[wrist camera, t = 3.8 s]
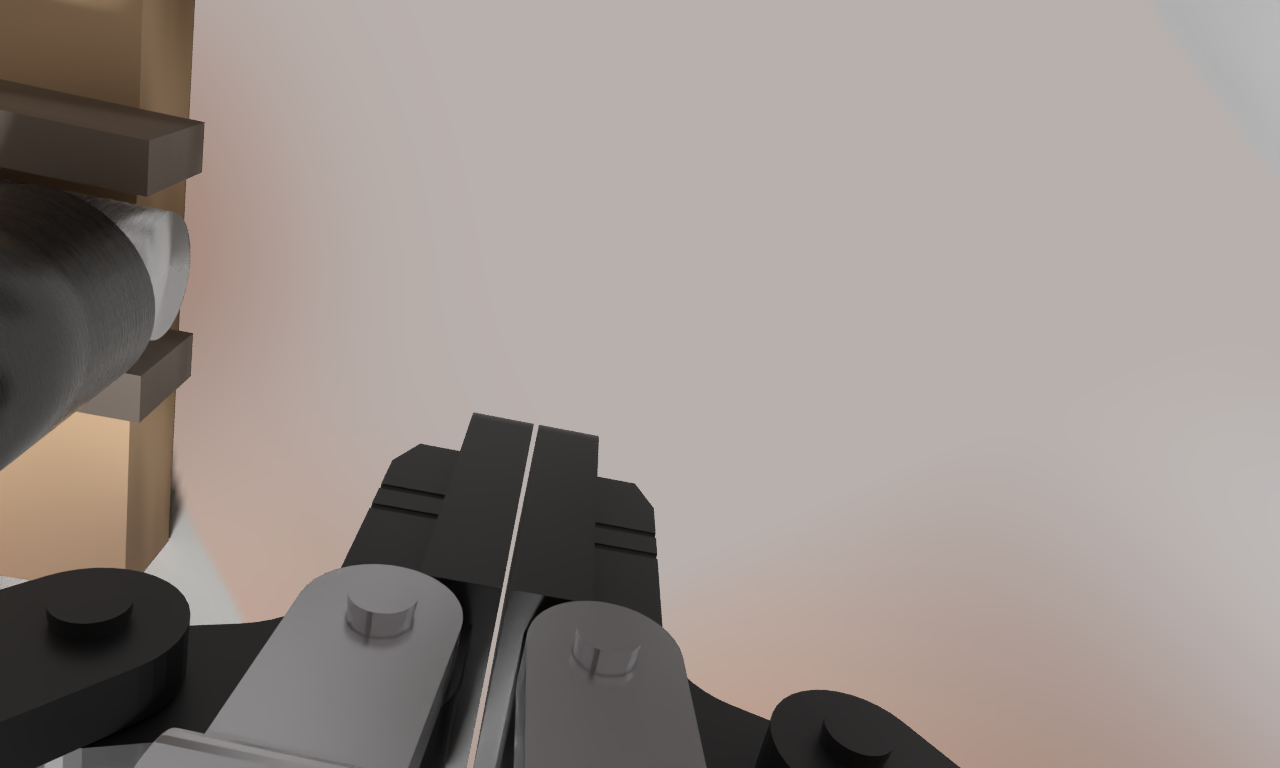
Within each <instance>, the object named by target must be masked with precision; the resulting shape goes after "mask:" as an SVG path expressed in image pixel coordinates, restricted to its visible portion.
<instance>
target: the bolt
mask: <svg viewBox="0 0 1280 768" xmlns="http://www.w3.org/2000/svg"><path fill="white" fill-rule="evenodd" d="M189 266H190V241H189V234H188V230H187V226H186V224H185V222H184V220H183V218H182V217H181V216H180V215H179V214H178V213H175V212H171V211H166V210H161V209H156V208H151V207H146V206H141V205H136V204H131V203H126V202H121V201H116V200H111V199H106V198H101V197H96V196H92V195H87V194H82V193H77V192H72V191H67V190H62V189H57V188H52V187H47V186H42V185H37V184H32V183H27V182H22V181H17V180H12V179H7V178H2V177H0V471H1V470H3V469H4V468H5V467H6V466H8V465H9V464H10V463H12V462H13V461H14V460H15V459H17V458H18V457H19V456H20V455H22V454H23V453H24V452H25V451H27V450H28V449H29V448H31V447H32V446H33V445H34V444H36V443H37V442H38V441H39V440H41V439H42V438H43V437H44V436H46V435H47V434H48V433H50V432H51V431H52V430H53V429H55V428H56V427H57V426H58V425H60V424H61V423H62V422H63V421H65V420H66V419H67V418H69V417H70V416H71V415H72V414H74V413H75V412H76V411H77V410H79V409H80V408H81V407H82V406H84V405H85V404H86V403H88V402H89V401H90V400H91V399H93V398H94V397H95V396H96V395H98V394H99V393H100V392H101V391H103V390H104V389H105V388H107V387H108V386H109V385H110V384H112V383H113V382H114V381H115V380H117V379H118V378H119V377H120V376H122V375H123V374H124V373H125V372H127V371H128V370H129V369H130V368H131V367H132V366H133V365H134V364H135V363H136V362H137V361H138V360H139V358H140V357H141V355H142V354H143V352H144V351H145V349H146V347H147V345H148V343H149V340H157V339H159V338H160V337H162V336H163V335H164V334H165V333H166V332H167V331H168V329H169V328H170V326H171V325H172V323H173V322H174V320H175V318H176V316H177V314H178V311H179V309H180V306H181V303H182V300H183V297H184V293H185V290H186V285H187V280H188V274H189Z"/></svg>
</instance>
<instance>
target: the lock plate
mask: <svg viewBox="0 0 1280 768" xmlns="http://www.w3.org/2000/svg"><path fill="white" fill-rule="evenodd" d="M194 8H195V0H0V177H2V178H7V179H12V180H17V181H22V182H27V183H32V184H37V185H42V186H47V187H52V188H57V189H62V190H67V191H72V192H77V193H82V194H87V195H92V196H96V197H101V198H106V199H111V200H116V201H121V202H126V203H131V204H136V205H141V206H146V207H151V208H156V209H161V210H166V211H171V212H175V213H178V214H179V215H180V216H181V217H182V218H183V220H184V212H185V191H186V190H185V189H186V179H188V178H190V177H192V176H194V175H197V174H199V173H201V172H202V158H203V140H204V122H200V121H196V120H191V119H189V110H190V90H191V69H192V48H193V47H192V46H193V29H194V28H193V27H194ZM179 313H180V309H179V311H178V314H177V316H176V318H175V320H174V322H173V323H172V325H171V326H170V328H169V329H168V331H167V332H166V333H165V334H164V335H163V336H162V337H160V338H159V339H157V340H149V343H148V345H147V347H146V349H145V351H144V352H143V354H142V355H141V357H140V358H139V360H138V361H137V362H136V363H135V364H134V365H133V366H132V367H131V368H130V369H129V370H128V371H127V372H125V373H124V374H123V375H122V376H120V377H119V378H118V379H117V380H115V381H114V382H113V383H112V384H110V385H109V386H108V387H107V388H105V389H104V390H103V391H101V392H100V393H99V394H98V395H96V396H95V397H94V398H93V399H91V400H90V401H89V402H88V403H86V404H85V405H84V406H82V407H81V408H80V409H79V410H77V411H76V412H75V413H74V414H72V415H71V416H70V417H69V418H67V419H66V420H65V421H63V422H62V423H61V424H60V425H58V426H57V427H56V428H55V429H53V430H52V431H51V432H50V433H48V434H47V435H46V436H44V437H43V438H42V439H41V440H39V441H38V442H37V443H36V444H34V445H33V446H32V447H31V448H29V449H28V450H27V451H25V452H24V453H23V454H22V455H20V456H19V457H18V458H17V459H15V460H14V461H13V462H12V463H10V464H9V465H8V466H6V467H5V468H4V469H3V470H1V471H0V575H1V576H7V577H13V578H19V579H25V580H34V579H37V578H41V577H44V576H48V575H52V574H55V573H59V572H64V571H70V570H76V569H85V568H120V569H129V570H134V571H139V572H144V571H145V570H146V568H147V567H148V566H149V565H150V563H151V562H152V561H153V560H154V558H155V557H156V556H157V555H158V553H159V552H160V551H161V550H162V548H163V547H164V546H165V545H166V543H167V542H168V538H169V518H170V497H171V477H172V457H173V435H174V416H175V414H174V413H175V394H176V389H177V388H178V387H179V386H180V385H181V384H182V383H184V381H186V380H187V379H188V378H189V377H190V376H191V359H192V341H193V340H192V339H193V333H188V332H183V331H179Z"/></svg>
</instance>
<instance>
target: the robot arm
mask: <svg viewBox="0 0 1280 768" xmlns="http://www.w3.org/2000/svg"><path fill="white" fill-rule="evenodd" d="M533 425H534V424H531V423H525V422H521V421H515V420H510V419H505V418H500V417H494V416H489V415H484V414H478V413H473V415H472V418H471V421H470V424H469V427H468V430H467V433H466V436H465V439H464V442H463V444H462V447H461V450H460V451H455V450H450V449H445V448H440V447H435V446H429V445H424V444H419V445H417V446H416V447H414V448H412V449H411V450H409V451H407V452H406V453H404V454H402V455H401V456H399V457H397V458H395V459H394V460H392V462H391V465H390V467H389V469H388V471H387V473H386V475H385V477H384V479H383V481H382V484H381V488H379V490H378V492H377V494H376V496H375V498H374V500H373V502H372V506H371V508H369V511H368V513H367V515H366V517H365V519H364V521H363V523H362V525H361V528H360V530H359V531H358V534H357V536H356V538H355V540H354V542H353V544H352V546H351V548H350V550H349V552H348V554H347V556H346V559H345V561H344V563H343V565H342V567H341V568H339V569H336V570H333V571H330V572H328V573H325V574H323V575H321V576H319V577H317V578H316V579H314V580H313V581H312V582H310V583H309V584H308V585H306V587H305V588H304V589H303V590H302V591H301V592H300V594H299V596H298V597H297V598H296V600H295V601H294V603H293V604H292V606H291V607H290V609H289V610H288V612H287V613H286V615H285V616H283V617H280V618H276V619H272V620H267V621H261V622H254V623H242V624H220V625H195V626H189V625H190V609H189V604H188V602H187V601H186V599H185V597H184V596H183V594H182V593H181V592H180V591H179V590H178V589H177V588H176V587H174V586H173V585H171V584H170V583H168V582H167V581H165V580H162V579H160V578H158V577H156V576H153V575H150V574H147V573H144V572H139V571H134V570H129V569H120V568H85V569H76V570H70V571H64V572H59V573H55V574H52V575H48V576H44V577H41V578H37V579H34V580H31V581H28V582H24V583H21V584H18V585H14V586H11V587H8V588H5V589H1V590H0V768H467V763H468V758H469V753H470V748H471V743H472V738H473V733H474V728H475V723H476V717H477V712H478V707H479V702H480V697H481V692H482V687H483V682H484V677H485V672H486V667H487V662H488V657H489V652H490V647H491V642H492V637H493V632H494V627H495V622H496V617H497V612H498V607H499V602H500V597H501V592H502V587H503V582H504V576H505V571H506V566H507V561H508V555H509V550H510V545H511V540H512V534H513V529H514V524H515V519H516V513H517V509H518V503H519V497H520V493H521V488H522V482H523V477H524V472H525V467H526V462H527V456H528V451H529V446H530V441H531V435H532V430H533ZM598 442H599V437H598V436H595V435H590V434H584V433H579V432H574V431H569V430H563V429H558V428H553V427H547V426H542V425H539V428H538V433H537V437H536V442H535V447H534V452H533V457H532V462H531V467H530V472H529V478H528V482H527V487H526V492H525V497H524V502H523V508H522V512H521V517H520V522H519V527H518V532H517V537H516V542H515V547H514V552H513V557H512V562H511V567H510V572H509V578H508V583H507V589H506V594H505V599H504V604H503V610H502V616H501V621H500V627H499V632H498V637H497V642H496V648H495V653H494V659H493V664H492V670H491V675H490V680H489V686H488V692H487V697H486V702H485V708H484V713H483V718H482V724H481V729H480V736H479V740H478V746H477V751H476V757H475V762H474V768H960V767H959V766H957V765H956V764H955V763H953V762H952V761H951V760H950V759H949V758H947V757H946V756H945V755H944V754H942V753H941V752H940V751H938V750H937V749H936V748H935V747H934V746H932V745H931V744H930V743H928V742H927V741H926V740H925V739H923V738H922V737H921V736H920V735H918V734H917V733H916V732H915V731H913V730H912V729H911V728H910V727H908V726H907V725H906V724H905V723H903V722H902V721H901V720H899V719H898V718H897V717H895V716H894V715H892V714H891V713H889V712H888V711H886V710H884V709H882V708H881V707H879V706H877V705H874V704H872V703H871V702H868V701H866V700H864V699H861V698H858V697H855V696H853V695H849V694H845V693H840V692H836V691H828V690H809V691H802V692H798V693H795V694H792V695H790V696H788V697H786V698H785V699H783V700H782V701H781V702H780V703H779V704H778V705H777V706H776V708H775V710H774V711H773V713H772V716H771V719H770V720H767V719H765V718H762V717H760V716H757V715H755V714H752V713H749V712H747V711H745V710H742V709H740V708H737V707H735V706H732V705H730V704H728V703H725V702H723V701H721V700H719V699H717V698H715V697H713V696H711V695H710V694H708V693H706V692H705V691H703V690H702V689H700V688H699V687H698V686H696V685H695V684H693V683H692V682H691V681H690V680H689V679H688V678H687V674H686V669H685V665H684V661H683V656H682V653H681V651H680V648H679V646H678V645H677V643H676V642H675V640H674V639H673V638H672V637H671V636H670V634H669V633H668V632H667V631H666V630H665V629H664V628H662V617H661V616H662V615H661V603H660V588H659V574H658V561H657V559H656V556H657V547H656V538H655V520H654V508H653V507H652V505H651V504H650V503H649V502H648V500H647V499H646V498H645V496H644V495H643V494H642V492H641V491H640V490H639V489H638V487H637V486H636V485H635V484H634V483H628V482H623V481H617V480H612V479H607V478H601V477H597V469H598V468H597V467H598Z"/></svg>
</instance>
